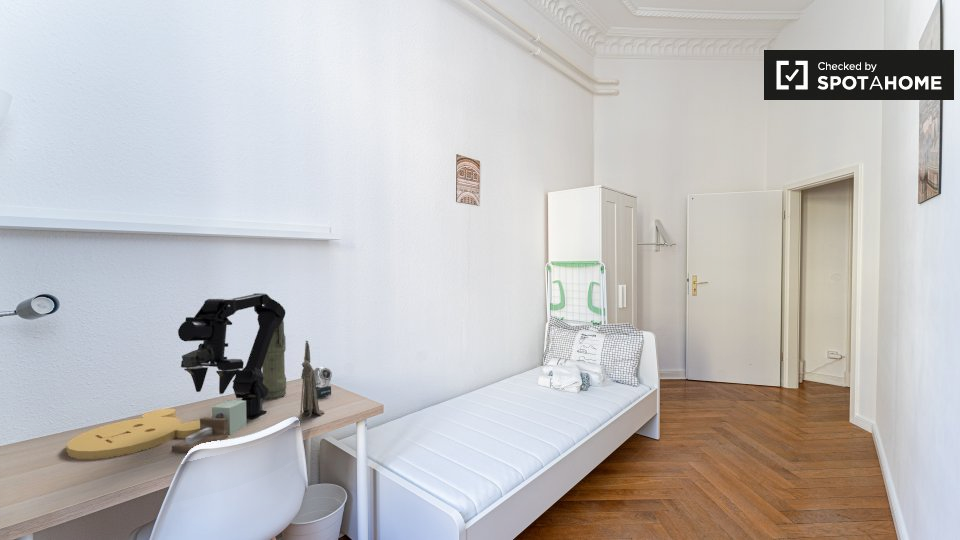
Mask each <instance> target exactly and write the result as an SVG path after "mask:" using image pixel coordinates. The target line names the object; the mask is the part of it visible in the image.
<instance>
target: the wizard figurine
mask: <svg viewBox="0 0 960 540" xmlns="http://www.w3.org/2000/svg"><path fill="white" fill-rule="evenodd" d="M304 345H305V346H304V357H303V362H302V363H301V366H302V371H301V376H300V377H301V378H300V379H301V380H302V386H301V402H300V412H299V413H300V414H299V416H300V418H302V413H303V412H306V413H305V414H306V415H308V416H307V417H306V419H310V418H311V417H312V416H313V413H315V414H317V415H318V416H321V417H322V416H323V415H324V414H325V411H324V410H321V409H320V405H319V400H318V399H319V398H317V390H316V387H317V386H316V381H315V375H314V370H315V369H314V368H313V367H312V364H311V352H310V350H311V349H310V344H309V341H308V340H305V344H304Z"/></svg>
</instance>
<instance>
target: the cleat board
mask: <svg viewBox="0 0 960 540" xmlns="http://www.w3.org/2000/svg"><path fill="white" fill-rule="evenodd" d="M199 420H200V431H198V432H196V433H194V434H192V435H190V436H188V437H186V438H184V439H183V440H181V441H179V442H177V443H175V444H173V445H171V452H174V451H176V452H175V453H177V451H178V453H188V451H189V450H190V449H191V448H193V447H194V446H196V445H199V444H201V443H206V442H211V441H217V440H221V441H223V440H225V439H227V438H228V437H229V434H228V419H225V418H212V417H207V416H204V417H201V418H200V419H199Z"/></svg>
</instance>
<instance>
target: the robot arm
mask: <svg viewBox="0 0 960 540" xmlns="http://www.w3.org/2000/svg"><path fill="white" fill-rule="evenodd" d="M249 308H253V311H254V312H255V314H257V323H258V331H257V332H256V333H257V334H256V336H255V338H254V341H253V345H252V348H251V350H250V353H249V356H248V359H247V361H246V365H245V366H244V360H243V359H241V358H228V356H225V348H227V347H229V343H228V342H226V339H227V338H226V337H227V326H232V325H233V322H232V321H231V320H230V319H229V317H230V316H233V315H235V313H236V312H237V311H241V310H245V309H249ZM285 315H286V309H285V308H284V306H283V305H281V303H280V302H278V301H276V300H275V299H273V298H272V297H270V296H269V295H268V294H267V293H262V292H261V293H252V294H247V295H244V296H239V297H234V298H207V299H206V300H204V302H203V305H202V306H201V307H200V309H199V310H198V312H197V313H196V314H195V315H194V316H193V317H192V316H186V317H185V321H184V322H182V323H181V324H180V326H179V328H178V329H177V334H178V337H179V339H180V340H181V341H183V342H200V341H201V342H202V343H199V345H198V348H197V349H195V350H191V351H190V352H188V353H185V354H182V355H181V359H182V360H181V361H180V362H181V365H180V368H183V369H184V371H186V372H187V373H189V374H190V376H191V378H192V381H193V384H194V389H195V391H196V393H200V392H201V391H202V389H203V386H204V382H205V379H206V376H207V373H208V369H209V367H214V368H215V367H216V368H217V369H218V370H216V371H215V372H216V374H217V375H218V376H219V377H218V378H219V382H218V383H219V384H218V385H219V387H218V390H219V391H218V392H219V395H223V394H224V393H225V392H226V390H227V389H228V387H229V385H230V384H231V382H232V389H233V392H234V395H235V397H236V399H241V401H246V419H256V418H258V417H260V416H262V415H263V414H265V413H267V410H263V398H265V396H267V395H268V388H267V387H266V386H265V385H264V384H263V374H262V366H263V363H264V360H265V357H266V354H267V351H268V348H269V345H270V342H271V339H272V336H273V333H274V330H275V329H276V328H277V327H278V326H279V325H280V324H281V323H282V321H284V319H285Z"/></svg>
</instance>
